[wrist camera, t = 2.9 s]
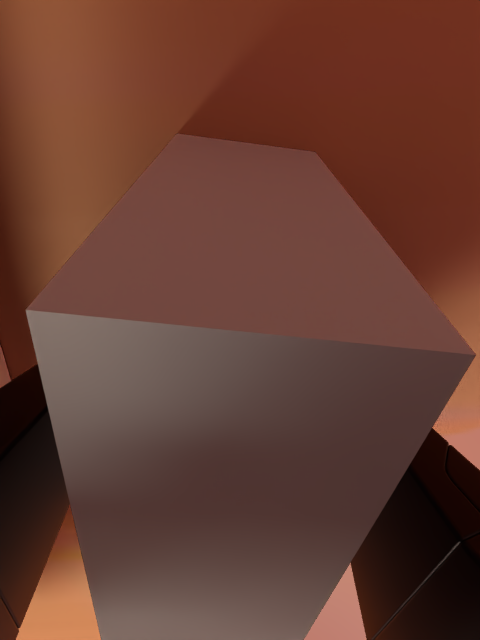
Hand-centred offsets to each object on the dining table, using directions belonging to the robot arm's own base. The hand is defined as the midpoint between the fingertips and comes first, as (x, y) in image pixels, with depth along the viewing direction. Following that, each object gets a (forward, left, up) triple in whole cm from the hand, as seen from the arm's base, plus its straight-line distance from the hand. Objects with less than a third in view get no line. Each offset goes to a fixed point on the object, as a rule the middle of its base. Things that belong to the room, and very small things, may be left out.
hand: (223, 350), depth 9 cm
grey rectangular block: (0, 0, -2) cm, 2 cm away
